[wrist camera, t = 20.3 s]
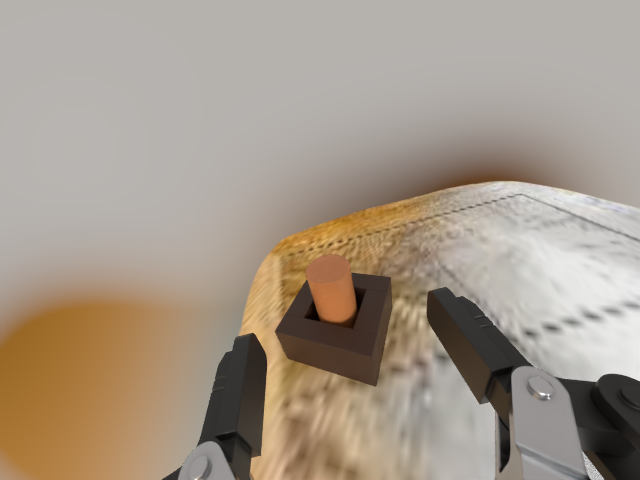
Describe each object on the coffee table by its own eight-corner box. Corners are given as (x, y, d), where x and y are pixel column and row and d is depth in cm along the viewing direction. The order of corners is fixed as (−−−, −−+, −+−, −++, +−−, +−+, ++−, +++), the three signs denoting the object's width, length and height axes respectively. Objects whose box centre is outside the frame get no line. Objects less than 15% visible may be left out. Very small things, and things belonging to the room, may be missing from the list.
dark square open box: (320, 294, 34) (313, 268, 32) (392, 306, 30) (390, 277, 27) (287, 358, 27) (274, 331, 24) (376, 387, 23) (371, 357, 20)
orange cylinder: (331, 313, 31) (316, 252, 26) (365, 320, 29) (355, 256, 24) (319, 343, 28) (297, 280, 22) (355, 353, 26) (341, 287, 20)
